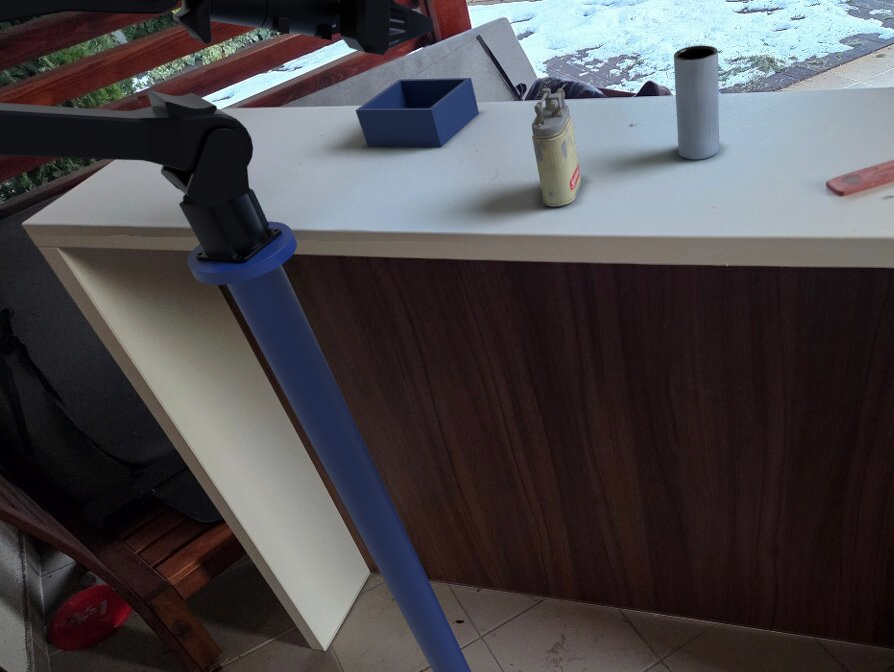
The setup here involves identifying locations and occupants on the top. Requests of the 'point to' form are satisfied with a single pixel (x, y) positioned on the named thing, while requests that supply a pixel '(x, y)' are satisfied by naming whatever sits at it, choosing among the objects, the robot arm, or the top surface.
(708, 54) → the grey tall cylinder
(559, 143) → the lighter
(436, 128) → the box
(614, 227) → the top surface
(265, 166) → the top surface
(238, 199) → the robot arm
